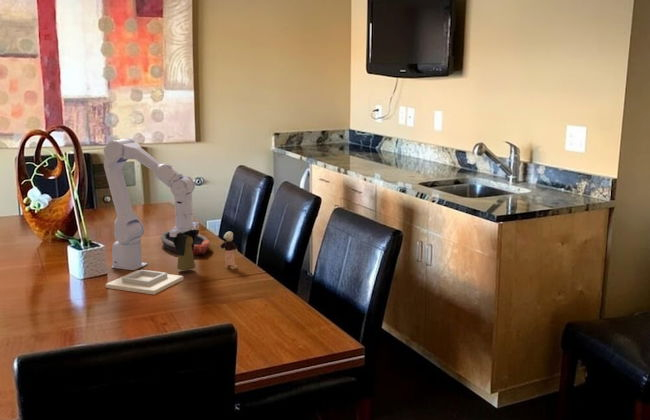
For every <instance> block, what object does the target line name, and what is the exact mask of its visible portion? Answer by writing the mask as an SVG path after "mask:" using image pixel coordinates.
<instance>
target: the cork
mask: <svg viewBox="0 0 650 420" xmlns="http://www.w3.org/2000/svg"><path fill="white" fill-rule="evenodd" d="M184 236H187V239H186V242H185V253H184V255H183V256H181V255H178V254H177V266H176V269H177V270H179V271H189V270H190V271H191V270H194V269H196V264H195V258H194V255H193V251H192V246H191V245H192V244H193V239H192V237H191V236H188V235H184Z"/></svg>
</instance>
